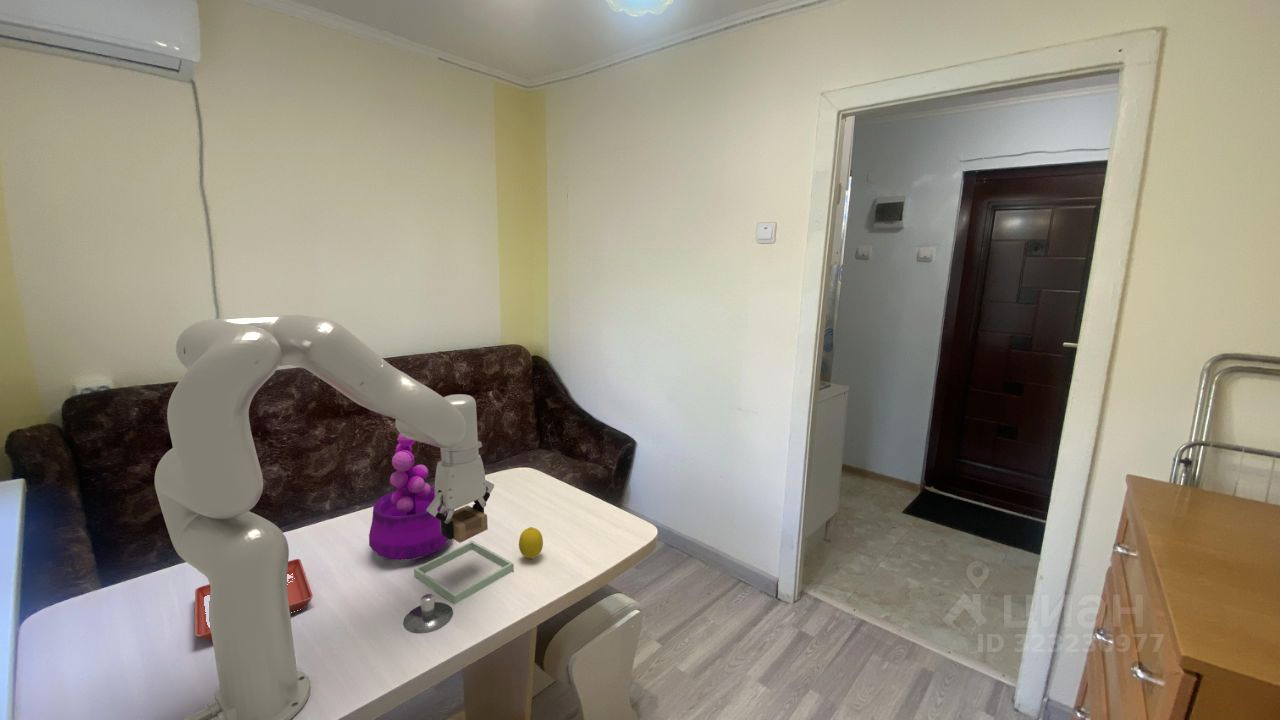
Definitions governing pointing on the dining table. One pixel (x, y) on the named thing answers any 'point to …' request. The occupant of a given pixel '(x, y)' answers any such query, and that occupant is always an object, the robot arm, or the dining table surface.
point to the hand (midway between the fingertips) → (463, 529)
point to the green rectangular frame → (473, 588)
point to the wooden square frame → (467, 523)
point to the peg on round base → (428, 616)
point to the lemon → (530, 542)
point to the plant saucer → (296, 592)
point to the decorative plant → (406, 512)
